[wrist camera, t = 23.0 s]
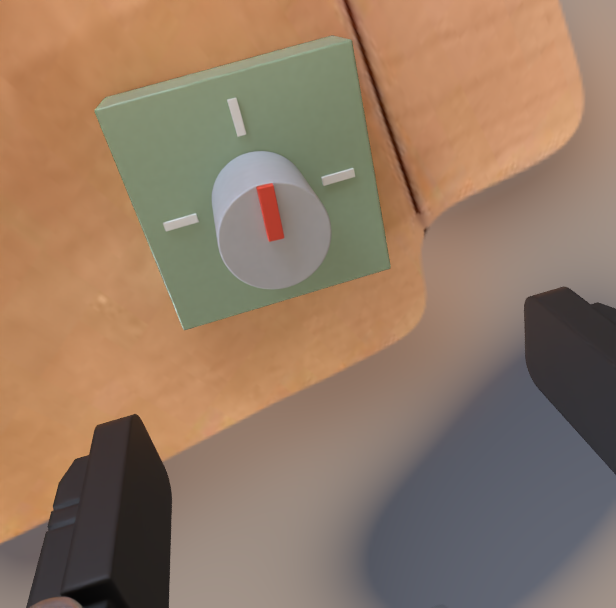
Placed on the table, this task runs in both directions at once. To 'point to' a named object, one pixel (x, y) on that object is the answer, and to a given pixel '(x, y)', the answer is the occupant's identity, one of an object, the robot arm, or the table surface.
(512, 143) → the table surface
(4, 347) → the table surface
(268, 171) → the lock knob
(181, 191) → the green dial knob panel
